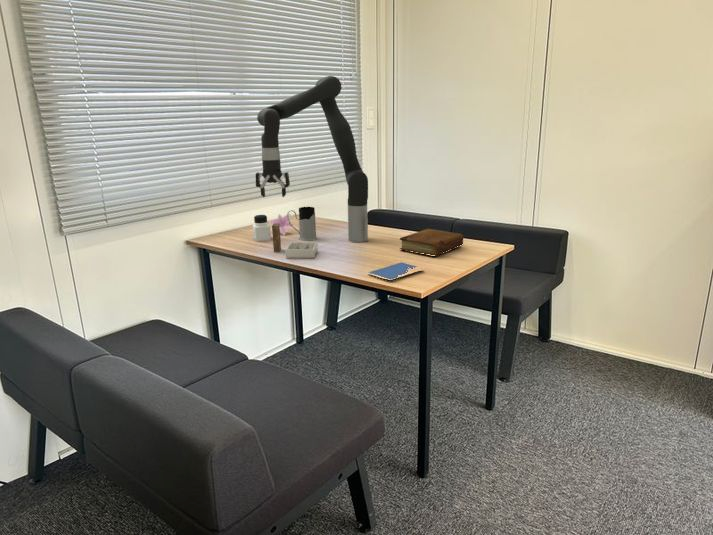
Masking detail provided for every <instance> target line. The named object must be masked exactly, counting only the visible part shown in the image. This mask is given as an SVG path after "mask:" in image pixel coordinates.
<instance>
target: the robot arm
mask: <svg viewBox="0 0 713 535" xmlns="http://www.w3.org/2000/svg"><path fill="white" fill-rule="evenodd" d="M341 91H342V83H341V81H340V79H339V78H338V77H336V76H334V75H327V76H325V77H322V78H320V79H318V80H317V81H316V83H315V85H314V86H313V87H311V88H309V89H306V90H305V91H301V92H299V93H297V94H294V95H292V96H290V97H287V98H285V99H284V100H282V101H280V102H277V103H275V104H273V105H270V106H267V107H265V108H262V109H261V110H259V112H258V113H257V118H256V119H257V122H258V123H259V125H261V126H262V127H263V128H264V130H263V133H262V134H261V160H262V161H261V162H262V172H256V173H255V187H256V188H259V189H260V196H261V197H262V198H265V197H266V188H265V186H266V185H267V183H268V184H271V183H273V184H276V183H277V184H278V185H279V186H280V187H281V197H282V198H284V197H285V196H286V195H287V191H286V190H287V189H286V188H288V187H289V186H290V185H291V183H290V174H289V171H286V172H282V168H281V166H282V165H281V151H280V145H279V143H280V141H279V133H280V127H281V120H284V119H288V118H291V117H293V116H295V115H297V114H298V113H301V112H302V111H304V110H306V109H307V108H310V107H311V106H313V105H315V104H317V103H319V104H320V106H321V108H322V111H323V113H324V116H325V119H326V123H327V125H328V129H329V131H330V134H331V138H332V141H333V144H334V147H335V149H336V151H337V153H338V156H339V158H340V160H341V163H342V166H343V171H344V175H345V180H346V184H347V189H348V191H347V192H348V193H347V195H348V196H347V223H348V224H347V232H348V233H347V234H348V238H347V239H348V241H349V242H350V241H351V243H365V242H364V241H367V242H369V241H368V240H369V236H368V234H369V230H368V229H369V228H368V227H369V226H368V225H369V224H368V223H369V220H368V199H369V179H368V176H367V174H366V173H365V172H364V171H363V169H362V167H361V164H360V162H359V159H358V157H357V149H356V142H355V137H354V134H353V131H352V128H351V125H350V123H349V121H348V120H347V119H346V117H345V116H344V115H343V112H341V111H340V109H339V107H338V104H337V100H336V97H338V96H339V95H340V93H341ZM261 177H262V178H263V179H264V180H263V181H262V183H261ZM282 177H283V178H284V179H285V183H284V181H283V180H282V179H281V178H282Z"/></svg>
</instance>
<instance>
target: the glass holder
mask: <svg viewBox="0 0 713 535" xmlns="http://www.w3.org/2000/svg"><path fill="white" fill-rule="evenodd" d="M291 212H293V213H294V215H295V218H296V220H298V225H299V226H298V228H299V230H298V229H297V228H296V227H295V226H294V225H293V224H292V222H291V221H290V219H289V217H288V214H290V213H291ZM286 215H287V217H288V222H289V223H290V225H291V226H292V225H293V226H292V228H293V229H294V230H295V231H296V232H298V234H299V238H298V240H299V241H301V242H314V241H316V240H318V237H317V229H316V228H317V226H316V225H317V224H316V222H317V221H316V211H315V207H314V206H302V207H299V208H298V217H297V213H296V211H295V210H289V211H287V214H286Z"/></svg>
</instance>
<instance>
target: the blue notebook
mask: <svg viewBox="0 0 713 535" xmlns="http://www.w3.org/2000/svg"><path fill="white" fill-rule="evenodd" d="M408 267H409V268H411V269H413V267H414V268H415V267H418V266H416V265H412V264H410V263H407V262H401V261H400V262H398V263H395V264H391V265H389V266H388V265H387V266H385V267H382V268H378V269H374V270H372V271H368V273H370V274H374V275H378V276H381V277H384V278H387V279H390V280H391V279H394V278H397V277H398V275H402V274H405V273H407V272H408V270H407V269H409V268H408ZM406 271H407V272H406ZM368 273H367V274H368Z"/></svg>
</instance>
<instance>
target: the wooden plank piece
mask: <svg viewBox="0 0 713 535" xmlns="http://www.w3.org/2000/svg"><path fill="white" fill-rule="evenodd" d="M271 233H272V246H273V252H274V253H280V251H282V242H281V232H280V225H279V224H273V225H271Z"/></svg>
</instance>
